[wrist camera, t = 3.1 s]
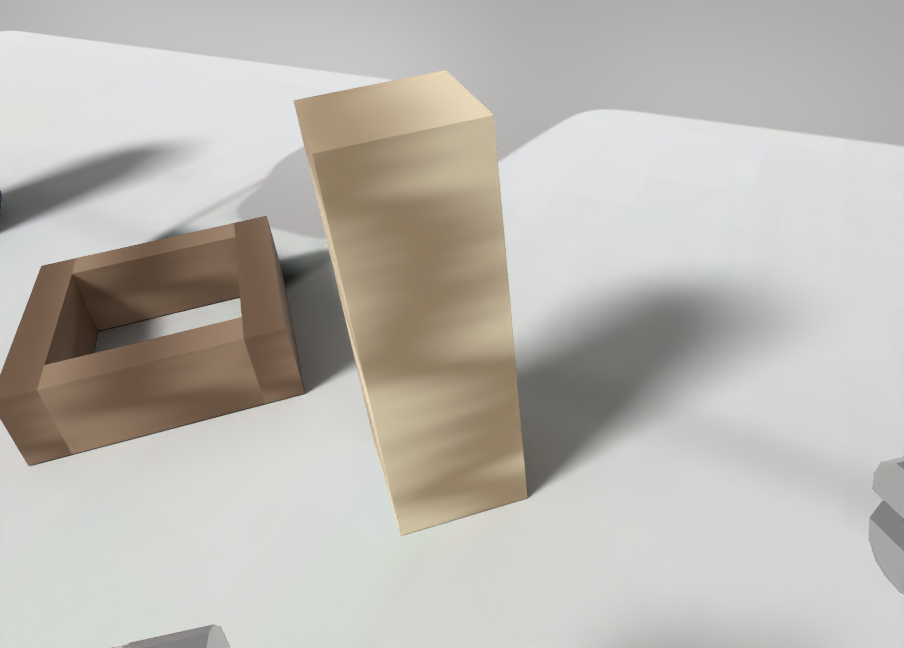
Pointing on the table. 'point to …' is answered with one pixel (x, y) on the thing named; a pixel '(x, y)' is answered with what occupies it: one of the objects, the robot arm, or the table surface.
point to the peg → (423, 288)
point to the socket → (148, 342)
